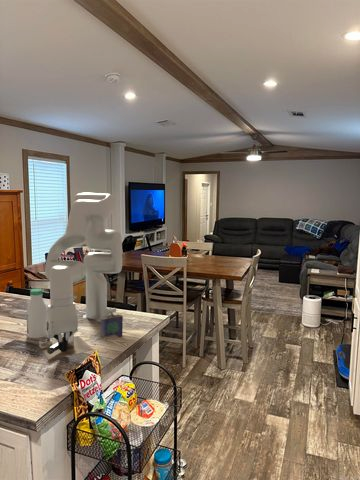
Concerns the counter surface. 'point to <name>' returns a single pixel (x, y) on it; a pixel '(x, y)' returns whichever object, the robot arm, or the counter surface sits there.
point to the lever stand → (78, 348)
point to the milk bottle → (36, 315)
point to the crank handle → (55, 346)
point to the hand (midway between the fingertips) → (63, 350)
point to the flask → (112, 325)
